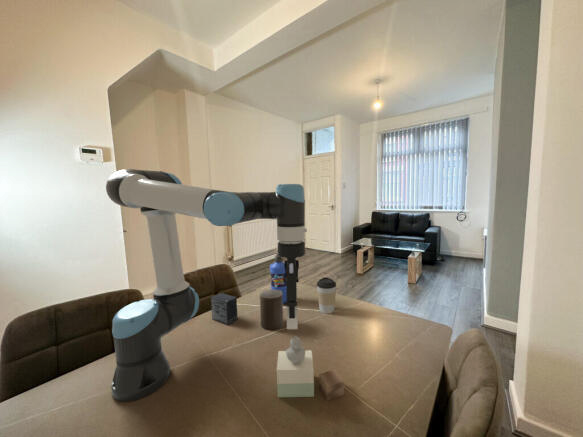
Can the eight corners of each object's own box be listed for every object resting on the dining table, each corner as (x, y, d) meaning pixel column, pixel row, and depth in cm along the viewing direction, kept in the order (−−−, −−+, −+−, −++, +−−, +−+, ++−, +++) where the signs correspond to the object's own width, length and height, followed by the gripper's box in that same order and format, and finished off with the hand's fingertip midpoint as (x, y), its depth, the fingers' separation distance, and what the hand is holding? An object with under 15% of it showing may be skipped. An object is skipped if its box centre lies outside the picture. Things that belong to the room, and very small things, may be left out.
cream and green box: (277, 397, 66) (276, 370, 65) (279, 375, 74) (278, 351, 73) (314, 396, 66) (313, 369, 65) (312, 374, 74) (311, 350, 73)
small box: (238, 318, 109) (237, 296, 108) (227, 325, 104) (226, 302, 103) (222, 313, 115) (221, 292, 114) (211, 319, 109) (210, 297, 108)
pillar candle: (268, 333, 97) (267, 297, 96) (256, 323, 105) (255, 290, 103) (287, 324, 103) (287, 290, 102) (274, 316, 111) (274, 284, 109)
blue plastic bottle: (273, 296, 132) (271, 252, 129) (289, 296, 131) (288, 251, 128) (269, 304, 123) (267, 256, 120) (287, 304, 122) (286, 256, 119)
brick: (327, 400, 65) (327, 386, 64) (319, 386, 69) (319, 373, 69) (343, 395, 66) (343, 381, 66) (334, 382, 71) (334, 369, 70)
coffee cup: (338, 314, 110) (337, 283, 108) (318, 315, 110) (317, 283, 108) (334, 305, 119) (334, 276, 117) (316, 306, 119) (315, 276, 117)
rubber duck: (289, 369, 65) (288, 341, 64) (283, 354, 71) (282, 328, 71) (308, 365, 67) (307, 338, 66) (301, 350, 73) (300, 325, 72)
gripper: (307, 251, 53) (308, 341, 55) (303, 233, 78) (304, 296, 80) (273, 252, 53) (275, 342, 55) (280, 233, 78) (281, 296, 80)
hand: (292, 315), depth 68 cm, fingers open, 13 cm apart
